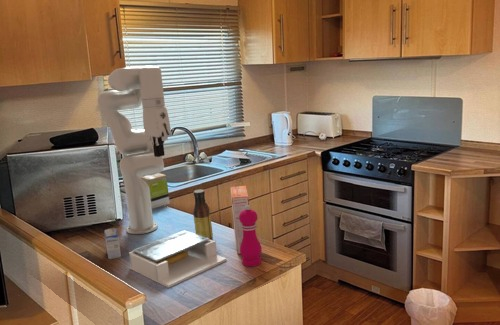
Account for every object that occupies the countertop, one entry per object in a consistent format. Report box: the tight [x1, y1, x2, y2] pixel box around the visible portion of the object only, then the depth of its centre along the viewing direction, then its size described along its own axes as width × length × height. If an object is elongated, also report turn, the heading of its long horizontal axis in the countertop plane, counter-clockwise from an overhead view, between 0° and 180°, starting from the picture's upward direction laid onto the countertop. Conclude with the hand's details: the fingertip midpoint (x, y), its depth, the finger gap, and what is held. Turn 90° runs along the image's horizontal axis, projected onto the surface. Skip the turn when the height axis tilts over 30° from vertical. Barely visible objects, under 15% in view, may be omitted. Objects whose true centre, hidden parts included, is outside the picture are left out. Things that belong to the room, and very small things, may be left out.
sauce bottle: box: [192, 189, 214, 241], centre depth 177 cm, size 7×6×20 cm
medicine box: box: [103, 227, 122, 260], centre depth 172 cm, size 8×4×9 cm, turn 21°
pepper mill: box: [239, 204, 263, 267], centre depth 156 cm, size 7×7×20 cm
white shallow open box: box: [128, 239, 227, 288], centre depth 160 cm, size 22×24×6 cm
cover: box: [132, 230, 209, 262], centre depth 161 cm, size 14×22×1 cm, turn 135°
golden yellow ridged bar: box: [157, 251, 188, 265], centre depth 162 cm, size 4×11×2 cm, turn 135°
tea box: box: [142, 172, 170, 210], centre depth 230 cm, size 15×10×15 cm, turn 42°
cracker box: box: [230, 185, 250, 255], centre depth 169 cm, size 14×6×21 cm, turn 4°
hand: (159, 155), depth 166 cm, fingers closed
